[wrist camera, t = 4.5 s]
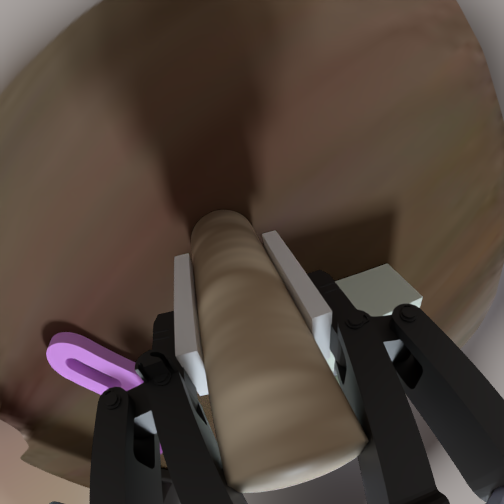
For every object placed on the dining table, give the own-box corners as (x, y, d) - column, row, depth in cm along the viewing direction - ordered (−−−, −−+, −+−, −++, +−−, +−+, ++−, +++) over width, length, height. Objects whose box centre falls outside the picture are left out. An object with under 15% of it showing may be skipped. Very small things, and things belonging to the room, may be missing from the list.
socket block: (242, 411, 28) (251, 447, 24) (201, 319, 20) (209, 372, 16) (366, 368, 30) (385, 398, 26) (387, 263, 22) (422, 296, 18)
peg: (200, 273, 18) (243, 497, 6) (183, 219, 16) (207, 478, 4) (258, 258, 19) (357, 461, 7) (248, 202, 17) (384, 421, 5)
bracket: (186, 382, 24) (194, 446, 18) (157, 405, 25) (160, 462, 19) (60, 320, 18) (36, 390, 12) (44, 353, 19) (26, 414, 13)
